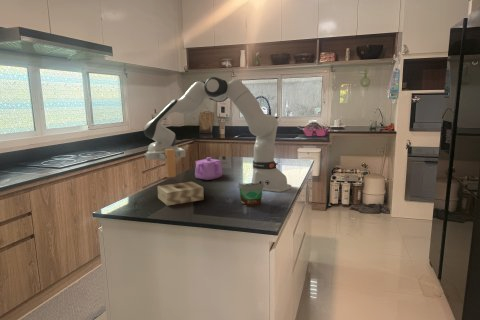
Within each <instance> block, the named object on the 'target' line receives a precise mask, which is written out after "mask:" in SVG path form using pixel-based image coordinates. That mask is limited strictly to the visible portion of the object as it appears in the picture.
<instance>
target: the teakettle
mask: <svg viewBox="0 0 480 320" xmlns="http://www.w3.org/2000/svg"><path fill="white" fill-rule="evenodd" d="M194 163H195V170H194V176H195V178H196V179H200V180H205V181H209V180H210V181H211V180H214V179H218V178H221V177H222V176H223V167H222V160H221V159H215V158H212V157H211V156H209V157H206V158H205V159H199V160H194Z"/></svg>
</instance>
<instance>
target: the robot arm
mask: <svg viewBox="0 0 480 320" xmlns="http://www.w3.org/2000/svg"><path fill="white" fill-rule="evenodd" d="M227 99H230V101H232V103H233V104H234V105H235V107H236V109H238V111H239V112H240V113H241V114H242V116H243V118H244V120H245V122H246V124H247V126H248V130H249V132H250V134H252V135H253V136H255V137H256V138H255V142H254V145H253V160H252V170H253V171H252V178H251V182H250V183H256V184H257V183H262V181H263V183H264V188H263V189H262V191H267V192H275V193H276V192H277V193H281V192H285V191H288V190H290V189H291V188H292V184H288V179H287V176H286V175H285V174H284V173H283V172H282V171H281V170H280V169H278V167H277V166H278V165H279V164H278V163H279V162H275V160H274V159H275V142H276V136H277V131H278V127H279V121H278V119H277V118H276V117H275V116H273V115H271V114H266V113H265V112H264V111H263V109H262V107H261V105H260V102H259V101H258V99H257V98H256V97H255V96H254V94H253V93H252V92H251V90H250V89H249V87H247V86H246V85H245V84H244V83H243V82H242V81H241V80H239V79H238V78H237V79H231V80H230V81H228V82H227V80H225V79H222V78H219V77H216V76H212V77H208V78H207V79H206V80H205V82H203V81H199V80H198V81H195V82H193V84H192V85H191V86H189V88H188V89H187V90H186V91H185V93H184V94H183V95H181V97H179V98H177V99H176V98H174V99H172V100H171V101H170V102H168V103H167V104H166V105H165V106H164V107H163V108H162V109H161V110H160V111H159V112H158V113H157V114H155V116H154V117H153V118H152V119H150V120H149V121H147V123H146V124H145V125H144V127H143V133H144V135H145V137H146V138H148V139H150V140H153V141H154V142H152V143H150V144H148V147H147V151H146V152H145V153H143V156H144V157H146V160H148V161H153V160H158V161H160V162H165V159H166V158H167V155H165V149H175V159H176V158H177V159H178V158H185V157H186V150H185V149H184V148H181V147H179V146H178V145H175V144H176V142H177V136H176V133H175V132H174V131H172V130H171V129H169V128H167V127H166V126H165V125H162V122H164V120H166V118H168V116H169V115H170V114H173V113H179V114H184V115H193V114H195V113H196V112H197V111H198V110H199V109H200V108H201V106H202V105H203V104H204V103H205V101H206V100H211V101H214V102H217V103H222V102H223V103H224V102H225V101H227Z"/></svg>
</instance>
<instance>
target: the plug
mask: <svg viewBox="0 0 480 320" xmlns="http://www.w3.org/2000/svg"><path fill="white" fill-rule="evenodd" d="M165 155H167V158H166V159H165V161H164V166H165V177H166V178H175V177H177V173H176V172H177V171H176V169H177V168H176V158H175V149H165Z"/></svg>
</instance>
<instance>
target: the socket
mask: <svg viewBox="0 0 480 320" xmlns="http://www.w3.org/2000/svg"><path fill="white" fill-rule="evenodd" d="M157 198H158V200H160V201H161V202H162V203H164V205H166V206H172V205H173V206H174V205H179V204H185V203H193V202H197V201H203V200H204V198H205V197H204V187H203V186H202V185H200V184H198V183H197V182H194V181H186V182H185V181H183V182H178V183H170V184H162V185H157Z"/></svg>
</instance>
